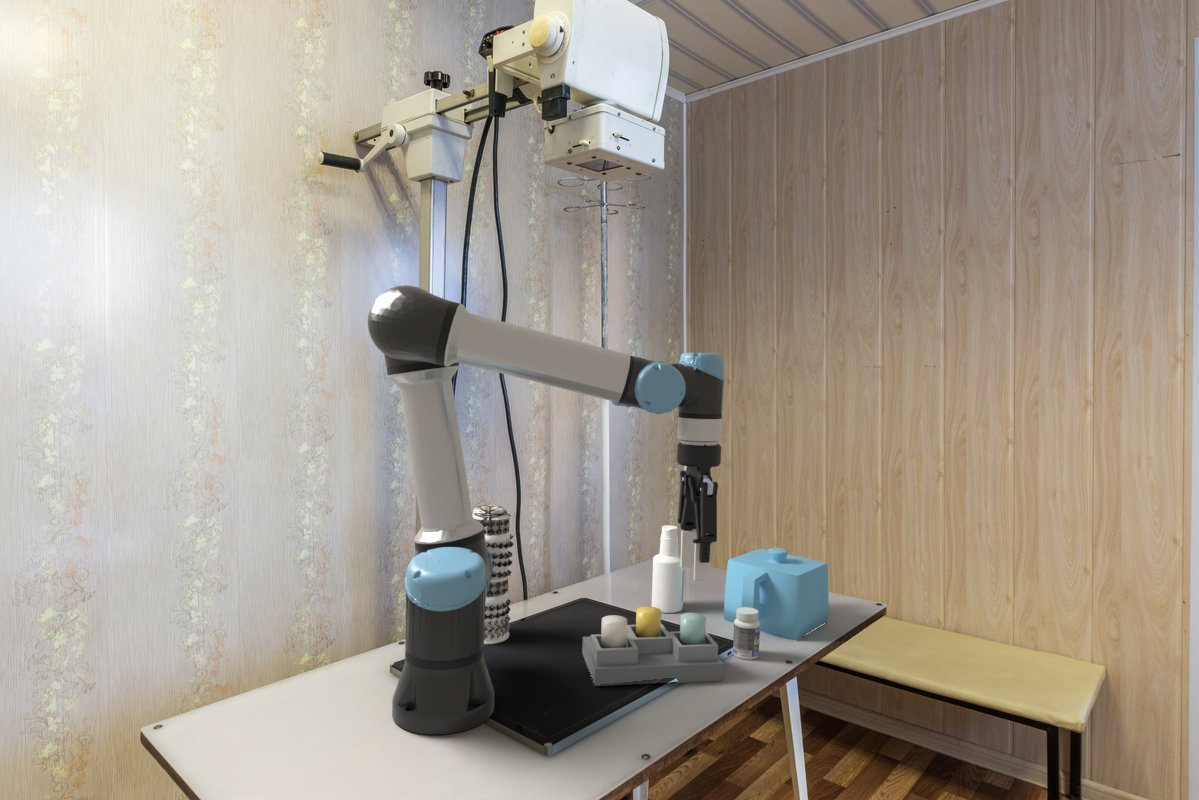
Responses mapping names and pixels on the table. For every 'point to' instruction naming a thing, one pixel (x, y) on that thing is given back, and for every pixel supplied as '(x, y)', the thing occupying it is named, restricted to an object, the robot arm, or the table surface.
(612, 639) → the button ivory
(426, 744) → the table surface
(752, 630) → the pill bottle
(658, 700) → the table surface
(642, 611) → the button mustard
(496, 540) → the decorative candle
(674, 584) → the spray bottle
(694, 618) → the button teal
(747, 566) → the container
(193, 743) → the table surface
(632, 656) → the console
